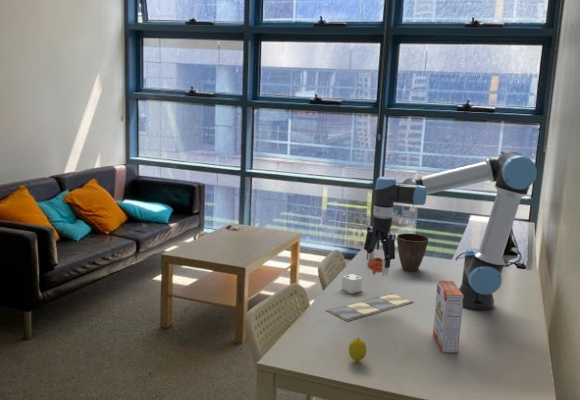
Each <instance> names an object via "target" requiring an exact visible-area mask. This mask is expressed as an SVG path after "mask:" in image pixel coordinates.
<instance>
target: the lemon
mask: <svg viewBox="0 0 580 400" xmlns="http://www.w3.org/2000/svg"><path fill="white" fill-rule="evenodd" d="M348 354H349V357H350V358H351V359H352V360H353V361H355V363H357V362H360V361H362V360H364V358H365V357H366V355H367V345H366V343H365V342H364V341H363V340H362V338H359V337H358V338H354V339H353V340H351V342H350V343H349V346H348Z"/></svg>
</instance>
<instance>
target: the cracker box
mask: <svg viewBox="0 0 580 400" xmlns="http://www.w3.org/2000/svg"><path fill="white" fill-rule="evenodd" d="M436 285H437V286H436V297H435V306H434V317H433V318H434V320H433V330H432V336H433V337H434V340H435V342H436V343H437V346H438V347H439V350H440V352H441V353H449V354H458V353H459V345H460V335H461V326H462V318H463V317H462V316H463V308H464V307H463V299H464V296H463V294H462V293H461V291H460V290H459V289H460V288H459V287H458V286H457V284H456V283H455V281H453V280H437V284H436Z"/></svg>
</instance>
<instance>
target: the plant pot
mask: <svg viewBox="0 0 580 400" xmlns="http://www.w3.org/2000/svg"><path fill="white" fill-rule="evenodd" d="M396 240H397V243H396V244H397V250H398V251H397V252H398V258H399V262H400V265H401V269H402V270H404V271H407V272H417V271H418V270H419V268H420V266H421V264H422V262H423V260H424V257H425V254H426V251H427V248H428V242H429V237H427V236H425V235H422V234H417V233H400V234H399V233H398V234H397V235H396Z"/></svg>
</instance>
